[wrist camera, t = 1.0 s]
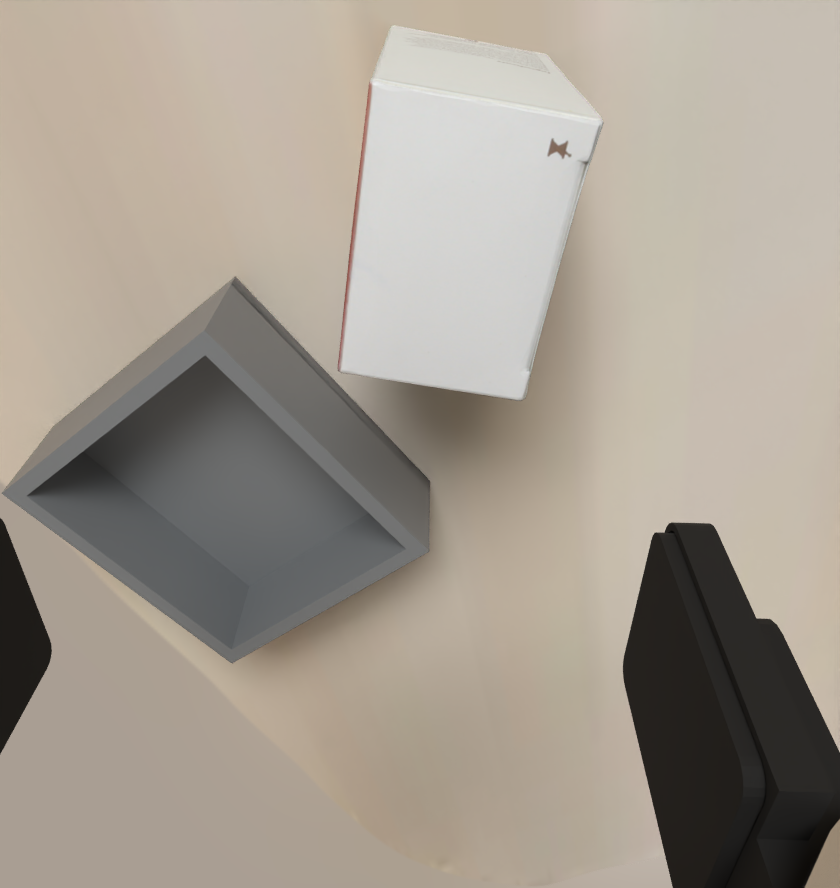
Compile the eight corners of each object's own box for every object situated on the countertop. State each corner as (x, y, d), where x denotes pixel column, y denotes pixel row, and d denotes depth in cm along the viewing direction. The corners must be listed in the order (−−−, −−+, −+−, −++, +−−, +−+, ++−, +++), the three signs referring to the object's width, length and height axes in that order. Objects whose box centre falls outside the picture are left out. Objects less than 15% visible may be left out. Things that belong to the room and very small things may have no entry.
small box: (390, 21, 25) (367, 66, 17) (551, 52, 26) (610, 112, 17) (361, 248, 30) (331, 378, 21) (499, 271, 30) (525, 407, 22)
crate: (235, 276, 31) (204, 330, 26) (429, 480, 36) (429, 551, 32) (52, 426, 35) (1, 493, 31) (252, 588, 40) (231, 663, 36)
